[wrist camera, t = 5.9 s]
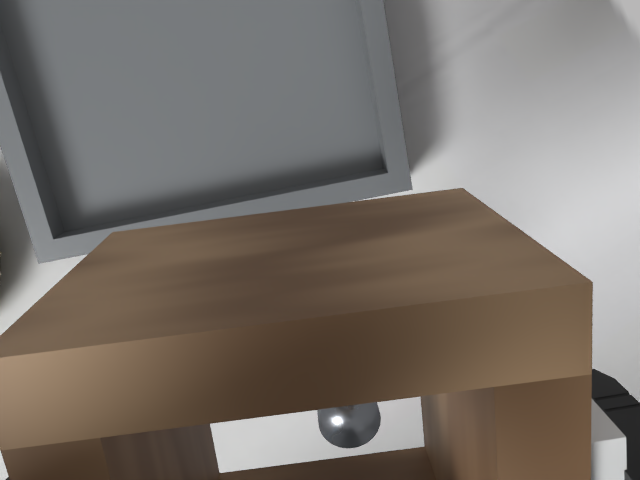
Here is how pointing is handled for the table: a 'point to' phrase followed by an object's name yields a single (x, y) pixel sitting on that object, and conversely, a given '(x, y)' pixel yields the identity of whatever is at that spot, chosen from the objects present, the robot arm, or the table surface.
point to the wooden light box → (306, 345)
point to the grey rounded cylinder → (349, 424)
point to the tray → (192, 112)
